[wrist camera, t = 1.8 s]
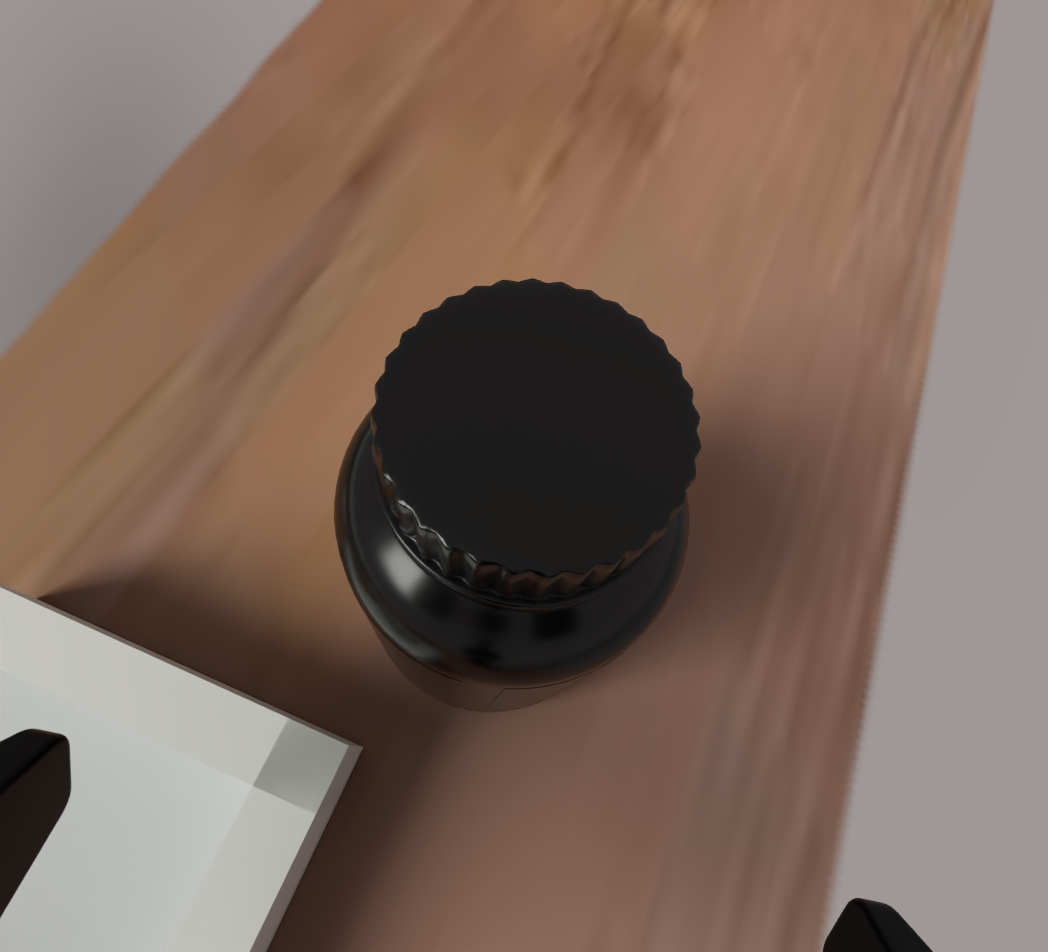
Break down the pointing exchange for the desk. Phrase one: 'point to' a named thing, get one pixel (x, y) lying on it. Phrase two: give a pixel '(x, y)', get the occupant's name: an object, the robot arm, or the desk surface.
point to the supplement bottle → (518, 492)
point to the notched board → (159, 795)
